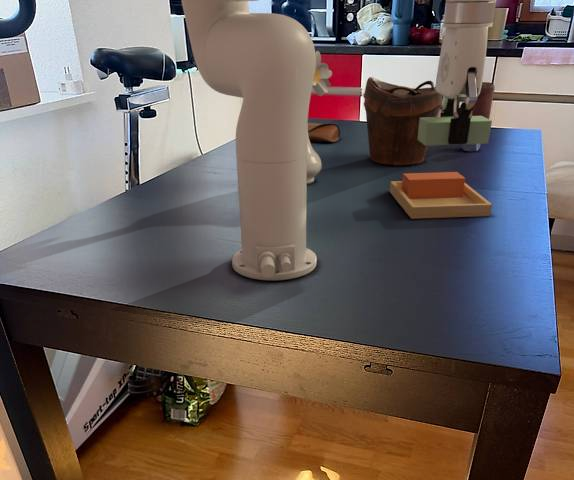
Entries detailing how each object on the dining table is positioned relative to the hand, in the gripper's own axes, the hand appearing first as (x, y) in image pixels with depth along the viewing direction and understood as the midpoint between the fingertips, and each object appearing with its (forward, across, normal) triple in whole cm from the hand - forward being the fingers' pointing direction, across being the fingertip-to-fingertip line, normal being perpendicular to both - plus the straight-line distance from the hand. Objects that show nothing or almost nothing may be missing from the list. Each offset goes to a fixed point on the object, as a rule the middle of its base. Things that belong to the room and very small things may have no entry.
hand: (452, 139), depth 100 cm
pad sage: (0, 0, 0) cm, 0 cm away
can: (+13, -64, +28) cm, 72 cm away
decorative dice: (+13, -50, +22) cm, 57 cm away
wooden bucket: (+13, -41, +1) cm, 43 cm away
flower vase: (+13, -25, -25) cm, 37 cm away
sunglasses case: (+13, -69, -19) cm, 73 cm away
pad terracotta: (+12, -9, 0) cm, 15 cm away
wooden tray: (+13, -5, 0) cm, 14 cm away
